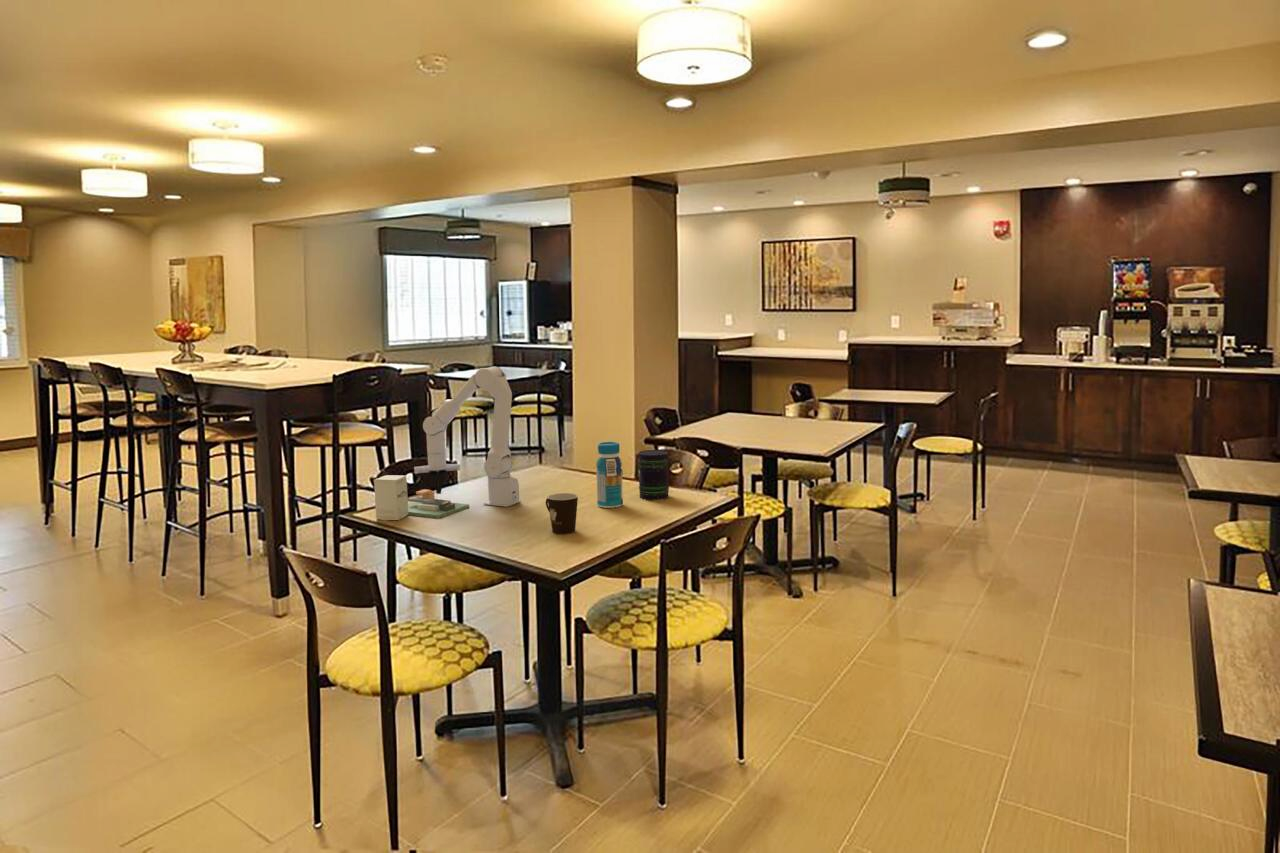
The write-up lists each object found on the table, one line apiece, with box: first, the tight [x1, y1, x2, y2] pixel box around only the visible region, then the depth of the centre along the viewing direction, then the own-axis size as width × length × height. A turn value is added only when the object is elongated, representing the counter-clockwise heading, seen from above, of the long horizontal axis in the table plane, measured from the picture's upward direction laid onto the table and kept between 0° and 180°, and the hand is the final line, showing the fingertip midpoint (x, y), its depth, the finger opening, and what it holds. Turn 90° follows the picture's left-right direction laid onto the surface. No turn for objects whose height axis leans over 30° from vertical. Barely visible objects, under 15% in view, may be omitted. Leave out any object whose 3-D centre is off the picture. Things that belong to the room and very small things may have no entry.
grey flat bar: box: [408, 496, 452, 505], centre depth 268 cm, size 14×4×1 cm, turn 64°
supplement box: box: [373, 474, 409, 521], centre depth 259 cm, size 7×7×13 cm
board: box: [408, 502, 470, 519], centre depth 268 cm, size 18×15×2 cm
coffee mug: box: [545, 492, 579, 535], centre depth 241 cm, size 12×9×10 cm
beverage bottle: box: [595, 441, 624, 509], centre depth 268 cm, size 8×8×20 cm
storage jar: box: [638, 449, 670, 501], centre depth 280 cm, size 10×10×15 cm
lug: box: [415, 489, 436, 499], centre depth 274 cm, size 3×5×4 cm, turn 154°
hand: (438, 493), depth 280 cm, fingers closed
